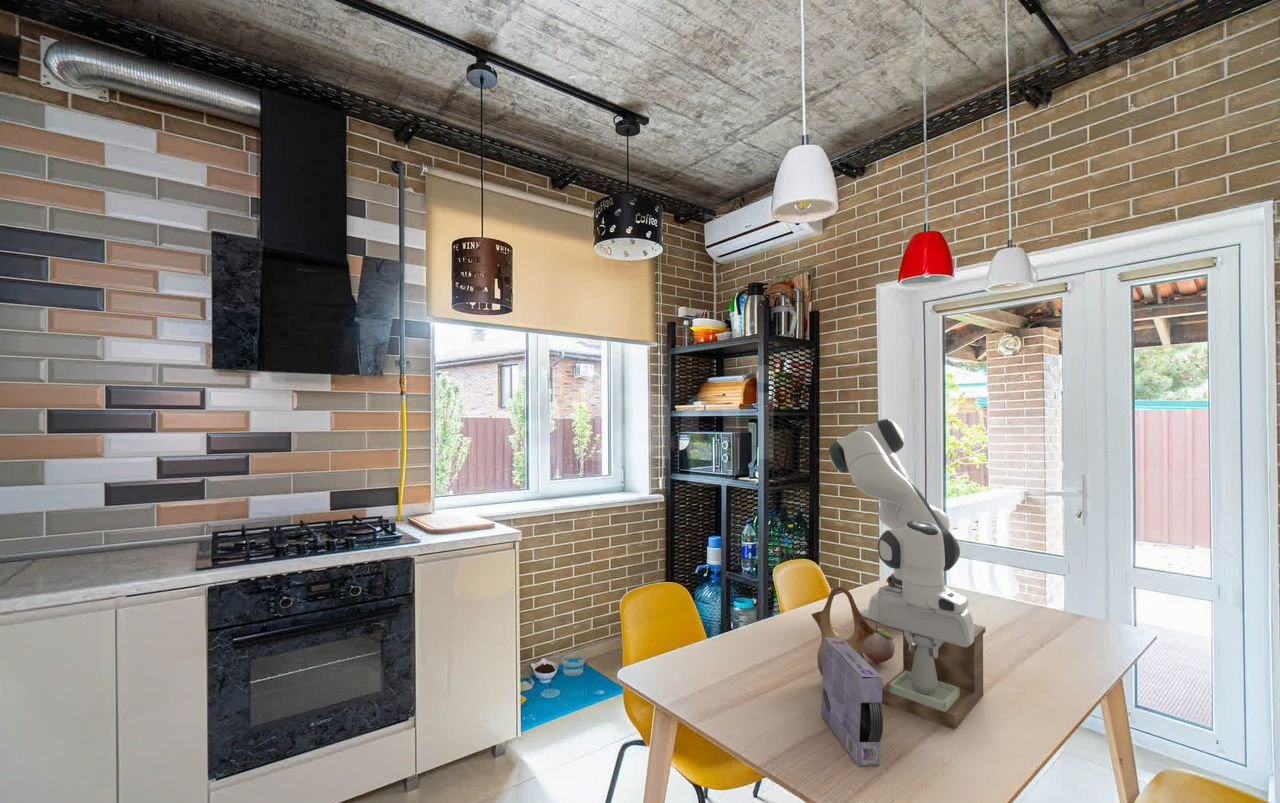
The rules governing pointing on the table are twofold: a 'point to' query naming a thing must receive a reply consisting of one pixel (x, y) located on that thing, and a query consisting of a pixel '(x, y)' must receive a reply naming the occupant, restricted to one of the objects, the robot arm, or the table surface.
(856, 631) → the ceramic vessel
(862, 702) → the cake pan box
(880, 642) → the decorative fruit
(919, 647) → the salt shaker
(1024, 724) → the table surface
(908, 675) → the tray
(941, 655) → the wooden stand
